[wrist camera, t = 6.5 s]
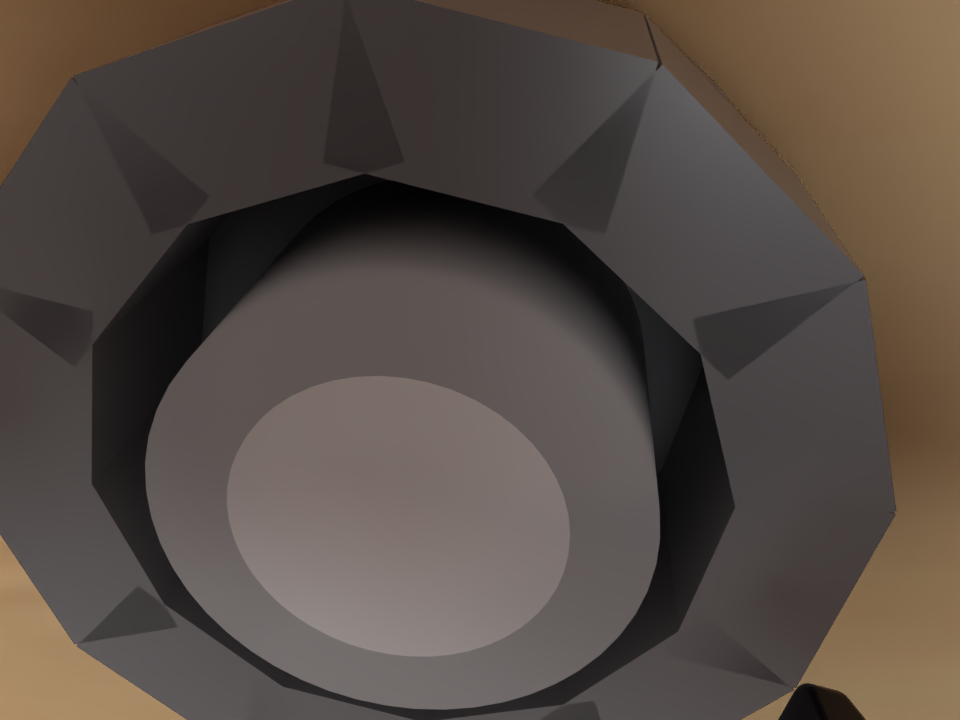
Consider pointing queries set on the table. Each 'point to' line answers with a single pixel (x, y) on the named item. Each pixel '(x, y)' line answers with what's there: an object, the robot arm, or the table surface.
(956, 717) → the table surface
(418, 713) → the grey ring
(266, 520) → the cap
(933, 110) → the table surface
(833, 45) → the table surface
